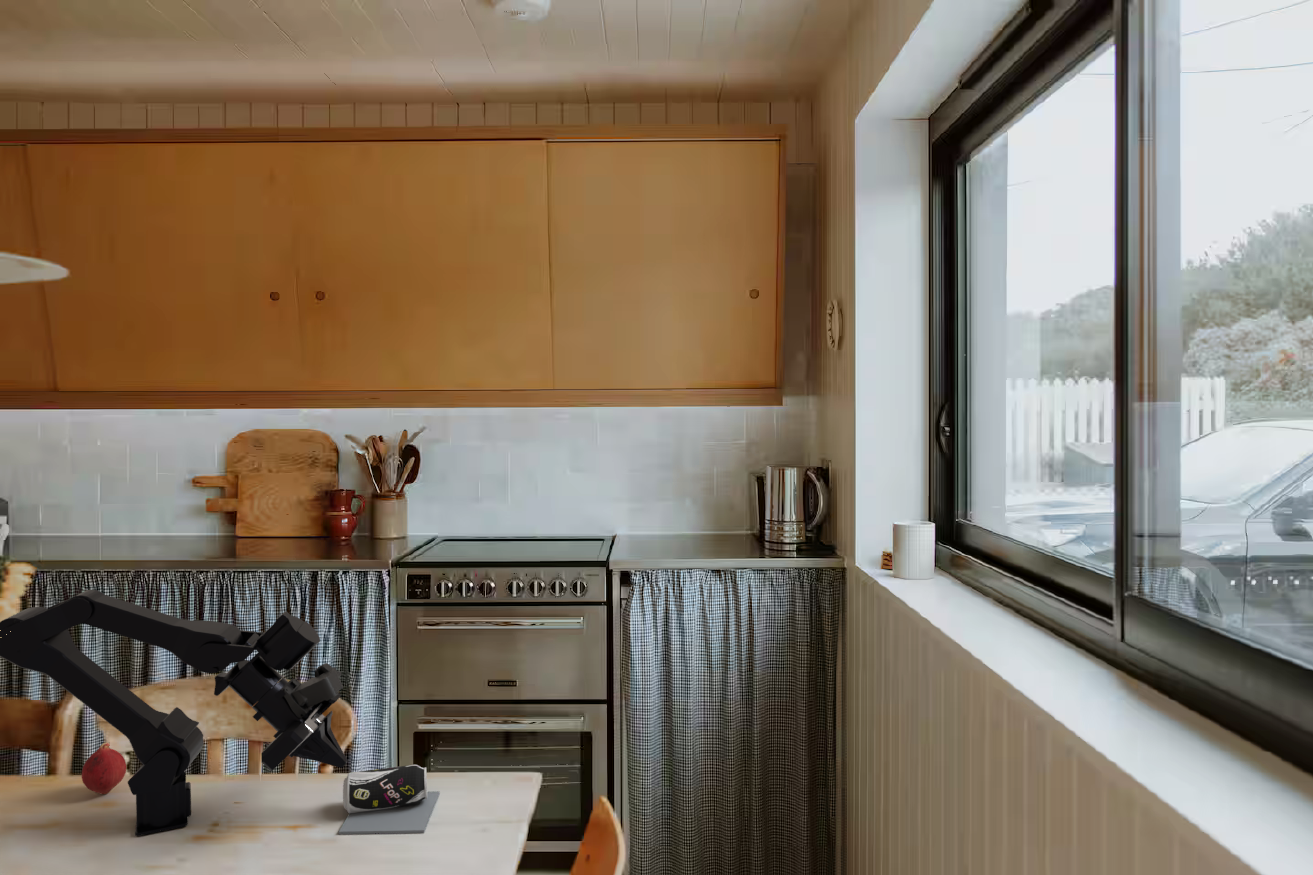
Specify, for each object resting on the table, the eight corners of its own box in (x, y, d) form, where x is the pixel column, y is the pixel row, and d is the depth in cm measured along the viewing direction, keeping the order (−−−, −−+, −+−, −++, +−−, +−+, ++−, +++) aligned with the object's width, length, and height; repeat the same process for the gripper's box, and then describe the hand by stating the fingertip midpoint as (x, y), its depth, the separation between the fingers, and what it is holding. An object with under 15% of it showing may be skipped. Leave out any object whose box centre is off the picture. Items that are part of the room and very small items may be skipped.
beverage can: (341, 778, 127) (426, 767, 130) (345, 769, 133) (426, 759, 136) (342, 819, 127) (427, 807, 130) (346, 808, 132) (428, 797, 135)
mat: (338, 834, 124) (338, 831, 124) (361, 794, 136) (361, 792, 136) (424, 832, 124) (424, 830, 124) (439, 793, 136) (439, 791, 136)
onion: (105, 804, 131) (103, 753, 131) (72, 800, 132) (71, 749, 132) (135, 787, 137) (134, 737, 136) (104, 783, 138) (103, 734, 138)
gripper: (284, 674, 118) (366, 752, 120) (327, 635, 137) (398, 703, 138) (225, 731, 118) (308, 809, 120) (276, 685, 137) (348, 752, 138)
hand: (344, 764), depth 129 cm, fingers closed
